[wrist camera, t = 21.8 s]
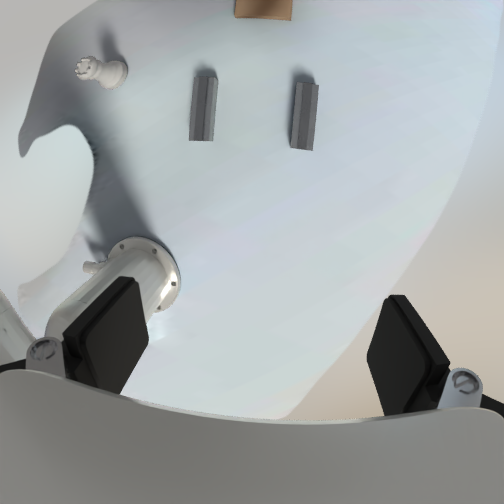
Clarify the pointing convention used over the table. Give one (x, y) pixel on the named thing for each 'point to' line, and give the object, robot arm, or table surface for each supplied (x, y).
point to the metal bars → (206, 108)
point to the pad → (264, 9)
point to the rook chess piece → (102, 72)
